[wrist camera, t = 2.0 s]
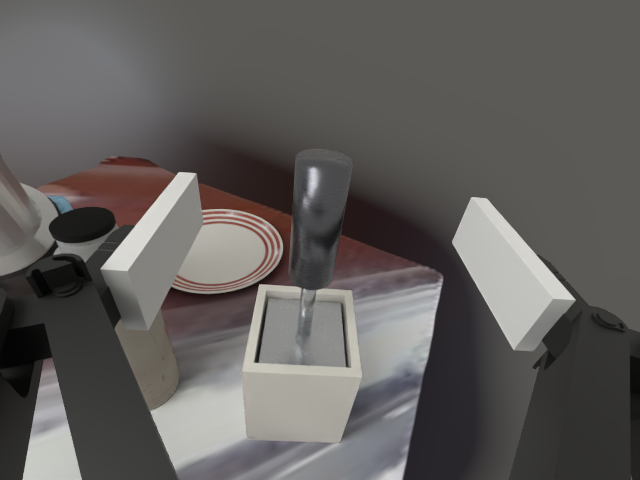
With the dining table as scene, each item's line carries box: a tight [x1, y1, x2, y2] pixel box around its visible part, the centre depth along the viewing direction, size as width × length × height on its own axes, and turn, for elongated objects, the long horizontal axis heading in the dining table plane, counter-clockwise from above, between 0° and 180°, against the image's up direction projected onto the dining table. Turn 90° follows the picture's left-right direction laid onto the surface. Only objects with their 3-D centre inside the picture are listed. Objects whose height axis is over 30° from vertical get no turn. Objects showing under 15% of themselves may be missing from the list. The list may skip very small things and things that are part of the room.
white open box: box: [242, 284, 362, 443], centre depth 41 cm, size 12×12×16 cm
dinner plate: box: [171, 209, 283, 294], centre depth 68 cm, size 27×27×3 cm
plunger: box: [259, 149, 353, 367], centre depth 31 cm, size 9×9×22 cm
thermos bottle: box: [49, 207, 180, 410], centre depth 37 cm, size 8×8×28 cm
